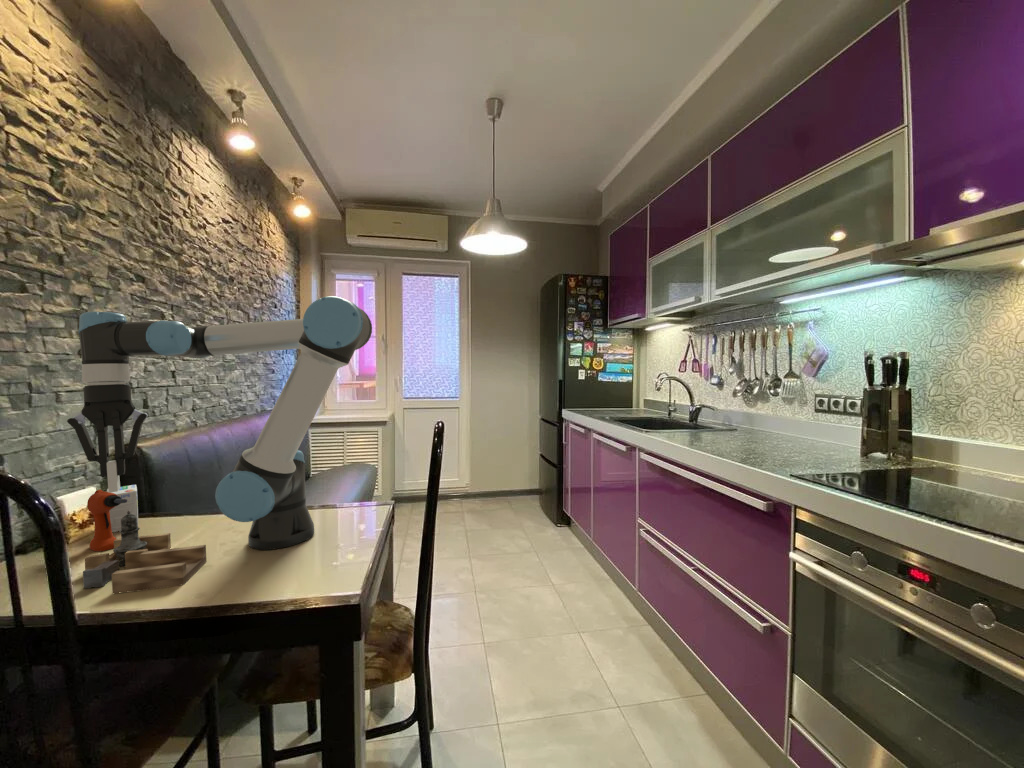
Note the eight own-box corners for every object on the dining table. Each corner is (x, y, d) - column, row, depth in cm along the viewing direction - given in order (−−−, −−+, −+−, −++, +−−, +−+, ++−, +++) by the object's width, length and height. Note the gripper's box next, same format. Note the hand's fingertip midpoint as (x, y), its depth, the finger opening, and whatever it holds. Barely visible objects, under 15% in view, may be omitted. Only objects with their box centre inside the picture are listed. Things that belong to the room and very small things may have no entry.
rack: (206, 561, 98) (205, 544, 97) (183, 584, 87) (182, 565, 87) (144, 569, 94) (143, 551, 94) (112, 594, 84) (111, 574, 84)
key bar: (121, 573, 93) (120, 557, 93) (102, 586, 87) (102, 569, 87) (103, 575, 92) (102, 559, 92) (83, 588, 86) (82, 571, 86)
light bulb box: (107, 524, 125) (106, 488, 125) (138, 518, 129) (136, 483, 129) (106, 534, 117) (104, 495, 117) (139, 527, 122) (137, 490, 121)
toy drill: (117, 555, 99) (110, 491, 99) (86, 551, 108) (79, 492, 108) (143, 547, 103) (136, 486, 104) (111, 544, 112) (104, 487, 112)
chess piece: (109, 569, 95) (106, 516, 94) (119, 559, 100) (116, 509, 100) (143, 563, 98) (140, 512, 97) (151, 554, 103) (148, 505, 102)
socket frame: (170, 549, 106) (170, 533, 105) (145, 568, 95) (144, 550, 95) (117, 555, 103) (116, 538, 102) (85, 575, 92) (84, 557, 92)
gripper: (148, 382, 99) (155, 482, 100) (70, 385, 92) (77, 492, 93) (143, 382, 93) (150, 488, 94) (59, 385, 86) (67, 500, 86)
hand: (114, 490), depth 93 cm, fingers closed
